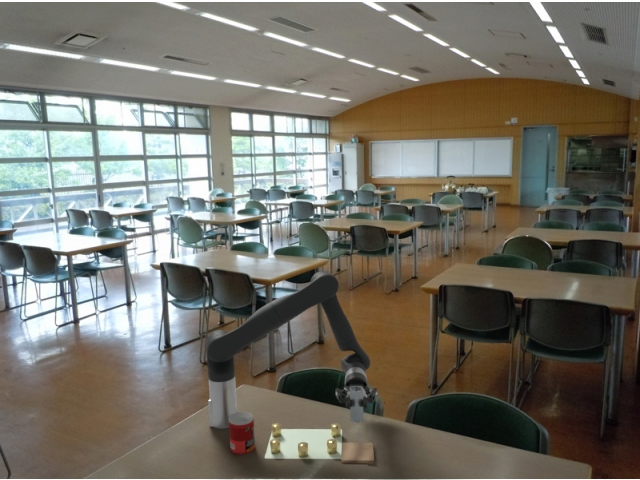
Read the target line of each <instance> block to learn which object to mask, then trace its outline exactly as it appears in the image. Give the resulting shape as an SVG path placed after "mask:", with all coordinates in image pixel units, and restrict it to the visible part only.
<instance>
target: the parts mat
mask: <svg viewBox="0 0 640 480" xmlns="http://www.w3.org/2000/svg"><path fill="white" fill-rule="evenodd" d="M281 434H282V435H281V436H280V437H277V438H275V437H273V436H272V432H271V434H270V436H269V440H268V444H267V448H266V451H265V454H264V459H267V460H270V459H272V460H273V459H276V460H277V459H278V460H279V459H280V460H283V459H284V460H287V459H288V460H299V459H300V460H341V451H342V443H343V429H342V428H341V436H340V437H338V438H333V437H332V436H331V428H327V429H326V428H325V429H324V428H322V429H321V428H313V429H311V428H292V429H291V428H281ZM272 439H279V440H280V447H281V452H280V453H279V454H272V453H271V449H270V441H271V440H272ZM329 439H335V440H337V453H336V454H333V455H331V454H328V453H327V440H329ZM300 442H306V443H308V457H306V458H300V457H299V456H298V444H299V443H300Z"/></svg>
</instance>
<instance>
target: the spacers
mask: <svg viewBox="0 0 640 480" xmlns="http://www.w3.org/2000/svg"><path fill="white" fill-rule="evenodd" d="M341 427H342V426H341V424H340V423H335V422H334V423H332V424H330V429H331V436H332V437H333V438H338V437H340V436H341V429H342V428H341ZM281 429H282V424H281V423H280V422H279V423H278V422H275V423H271V433H272V436H273V437H275V438H277V437H280V436H281V435H282V434H281ZM270 449H271V453H272V454H279V453H280V452H281V447H280V440H279V439H272V440H271V441H270ZM327 453H328V454H331V455H333V454H336V453H337V440H335V439H329V440H327ZM298 456H299V457H300V458H306V457H308V443H306V442H300V443H299V444H298Z"/></svg>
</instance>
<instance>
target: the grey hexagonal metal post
mask: <svg viewBox="0 0 640 480" xmlns="http://www.w3.org/2000/svg"><path fill="white" fill-rule="evenodd" d="M349 410H350V411H349V412H350V414H349V415H350V418H349V419H350V422H353V423H357V424H358V423H360V422H364V409H363V387H360V386H353V387H350V409H349Z"/></svg>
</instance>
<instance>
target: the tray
mask: <svg viewBox="0 0 640 480" xmlns="http://www.w3.org/2000/svg"><path fill="white" fill-rule="evenodd" d="M374 453H375V451H374V444H373V442H342V451H341V459H340V461H341V464H367V465H375V455H374Z"/></svg>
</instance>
